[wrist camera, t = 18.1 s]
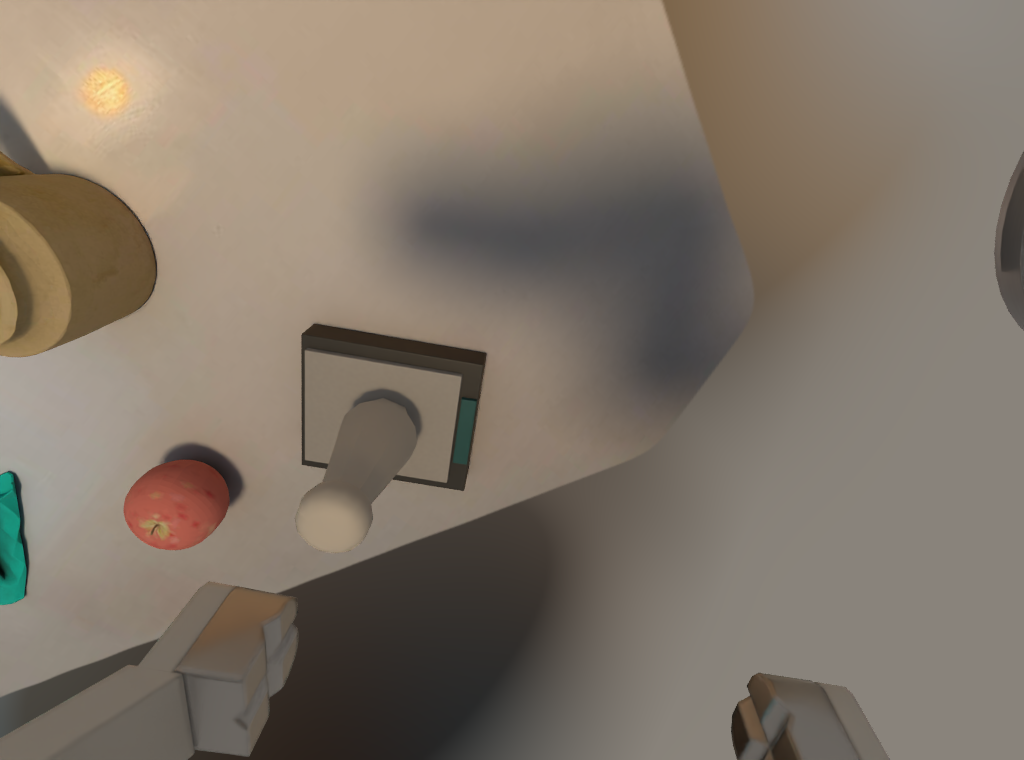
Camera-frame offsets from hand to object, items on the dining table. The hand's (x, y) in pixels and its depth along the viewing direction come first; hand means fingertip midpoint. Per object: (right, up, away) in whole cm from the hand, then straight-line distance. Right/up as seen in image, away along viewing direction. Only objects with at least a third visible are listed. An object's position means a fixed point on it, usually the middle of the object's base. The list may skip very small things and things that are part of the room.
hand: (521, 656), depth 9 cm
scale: (-10, +3, +35) cm, 37 cm away
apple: (-29, -4, +39) cm, 49 cm away
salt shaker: (-10, +2, +32) cm, 34 cm away
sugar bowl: (-34, +16, +30) cm, 48 cm away
